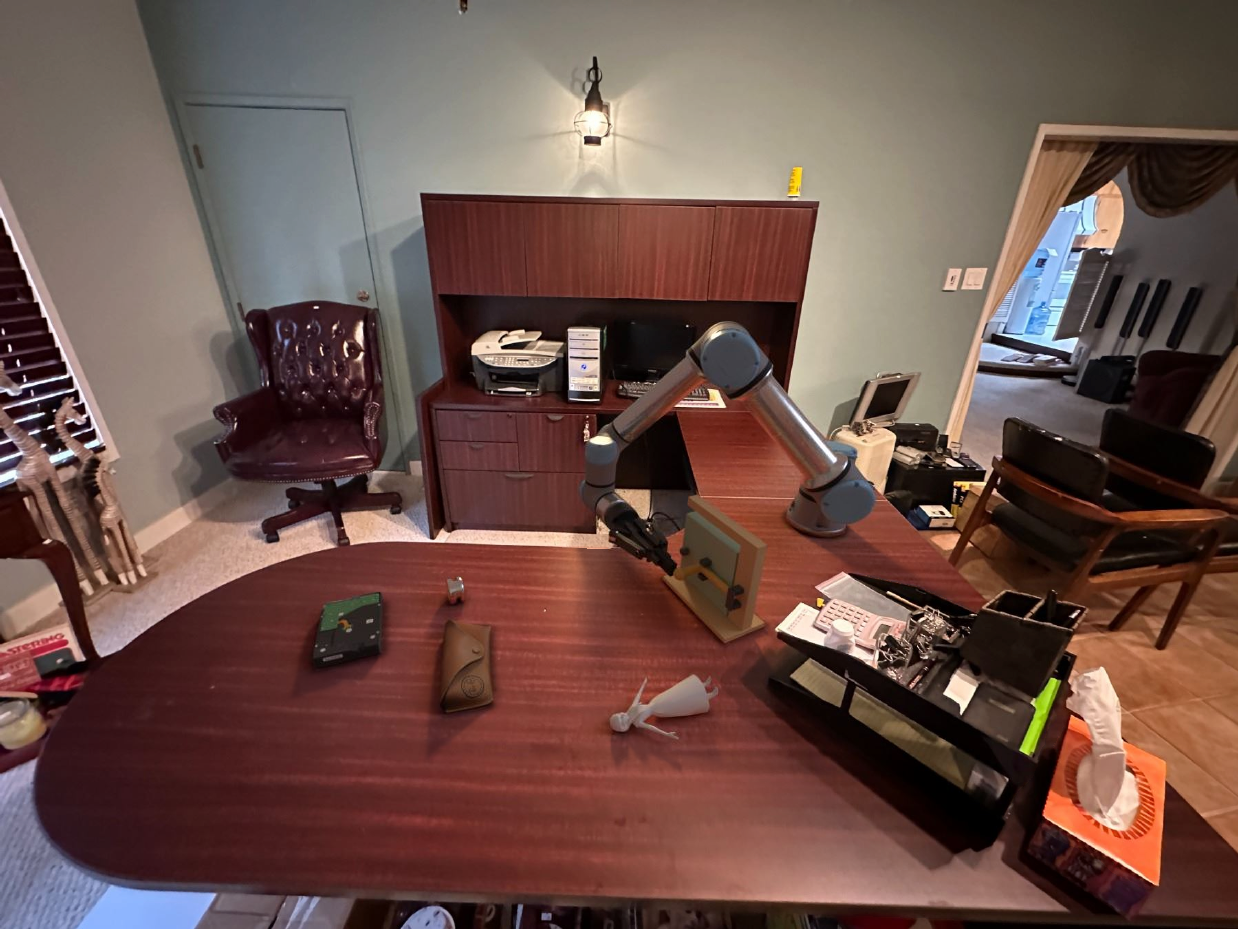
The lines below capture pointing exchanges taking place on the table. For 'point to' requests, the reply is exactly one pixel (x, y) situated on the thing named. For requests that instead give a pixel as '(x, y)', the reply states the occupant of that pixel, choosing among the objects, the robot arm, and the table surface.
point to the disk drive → (349, 630)
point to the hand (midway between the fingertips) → (673, 570)
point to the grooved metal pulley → (455, 589)
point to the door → (720, 571)
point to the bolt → (696, 568)
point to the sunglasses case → (465, 667)
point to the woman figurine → (667, 705)
